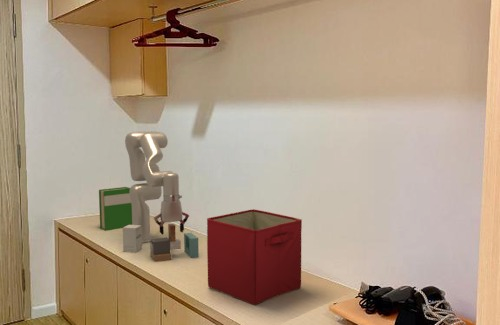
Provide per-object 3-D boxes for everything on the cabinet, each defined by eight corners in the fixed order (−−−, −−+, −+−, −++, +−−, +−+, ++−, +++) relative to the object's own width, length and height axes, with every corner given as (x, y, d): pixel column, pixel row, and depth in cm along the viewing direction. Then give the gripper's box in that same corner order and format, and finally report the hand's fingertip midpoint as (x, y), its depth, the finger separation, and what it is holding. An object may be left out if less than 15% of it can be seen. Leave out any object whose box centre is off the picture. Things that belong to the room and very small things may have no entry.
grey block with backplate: (150, 256, 254) (150, 238, 253) (166, 254, 257) (166, 236, 256) (154, 261, 245) (154, 242, 244) (171, 259, 248) (171, 241, 247)
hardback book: (105, 230, 309) (103, 191, 306) (100, 228, 314) (98, 189, 312) (132, 226, 320) (131, 188, 317) (126, 224, 326) (125, 186, 323)
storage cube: (306, 289, 207) (307, 218, 204) (259, 308, 188) (259, 230, 185) (249, 271, 230) (249, 207, 227) (202, 287, 210) (201, 217, 207)
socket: (184, 251, 262) (184, 233, 261) (191, 251, 263) (191, 232, 262) (191, 258, 251) (190, 238, 250) (198, 257, 252) (198, 237, 251)
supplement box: (136, 252, 261) (135, 228, 260) (122, 251, 263) (122, 227, 262) (142, 248, 269) (141, 224, 267) (129, 248, 270) (128, 224, 269)
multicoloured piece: (150, 250, 251) (149, 225, 250) (178, 246, 256) (178, 223, 255) (152, 252, 247) (151, 227, 246) (180, 248, 253) (180, 224, 252)
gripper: (186, 196, 257) (186, 229, 259) (151, 198, 251) (152, 233, 252) (190, 198, 250) (191, 232, 252) (155, 200, 244) (156, 236, 245)
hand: (171, 232), depth 252 cm, fingers open, 9 cm apart
